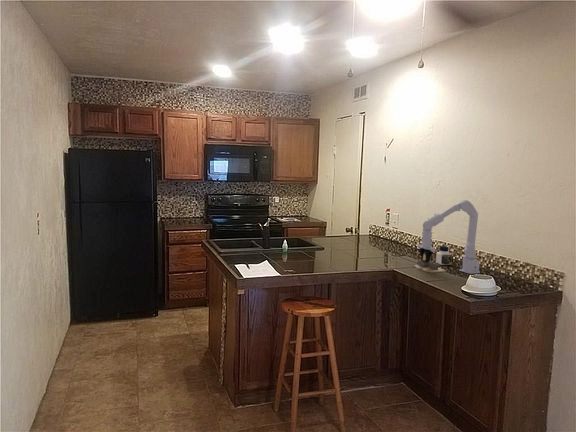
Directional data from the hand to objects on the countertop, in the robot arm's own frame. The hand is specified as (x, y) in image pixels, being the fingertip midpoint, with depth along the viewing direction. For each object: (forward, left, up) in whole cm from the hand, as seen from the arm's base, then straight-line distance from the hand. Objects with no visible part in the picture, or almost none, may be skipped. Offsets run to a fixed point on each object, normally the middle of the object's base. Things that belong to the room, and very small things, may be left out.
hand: (425, 260), depth 281 cm
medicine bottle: (+7, -20, -5) cm, 22 cm away
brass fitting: (0, 0, -2) cm, 2 cm away
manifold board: (-4, 0, -4) cm, 6 cm away
